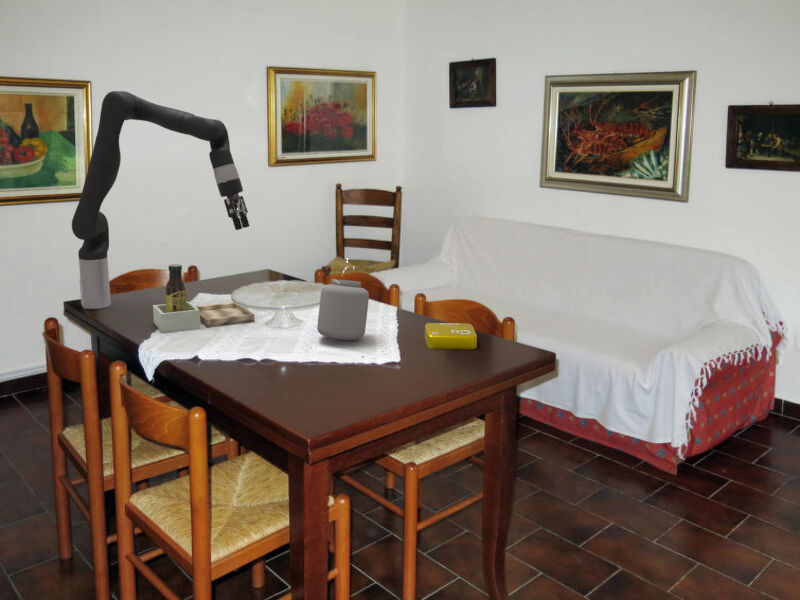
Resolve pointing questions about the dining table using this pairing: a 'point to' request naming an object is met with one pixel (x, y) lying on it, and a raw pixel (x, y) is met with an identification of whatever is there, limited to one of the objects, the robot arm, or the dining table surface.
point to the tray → (224, 315)
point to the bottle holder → (176, 318)
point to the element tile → (450, 336)
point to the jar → (343, 310)
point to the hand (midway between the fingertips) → (242, 228)
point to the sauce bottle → (175, 290)
